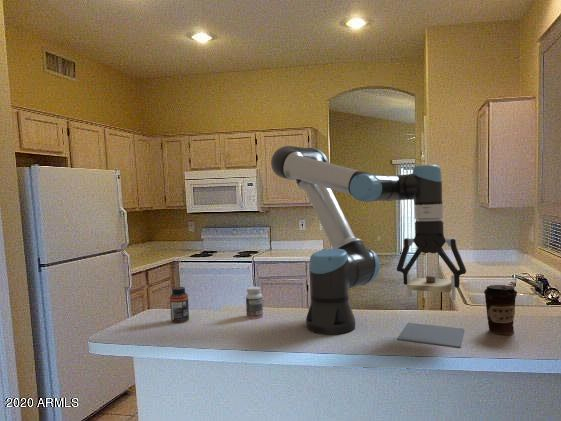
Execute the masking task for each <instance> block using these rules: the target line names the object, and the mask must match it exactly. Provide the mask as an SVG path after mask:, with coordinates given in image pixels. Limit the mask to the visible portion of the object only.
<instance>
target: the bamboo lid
mask: <svg viewBox="0 0 561 421" xmlns="http://www.w3.org/2000/svg"><path fill="white" fill-rule="evenodd" d="M406 288H407V289H406V290H407V291H408V290H412V291H422V292H435V293H436V292H440V293H452V286H451V278H450V279H448V278H436V276H435V275H425V277H412V280H411V281H410V282H409V283H408V284H407V285H406Z"/></svg>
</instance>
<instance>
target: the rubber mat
mask: <svg viewBox="0 0 561 421" xmlns="http://www.w3.org/2000/svg"><path fill="white" fill-rule="evenodd" d="M464 329H465V328H464V327H463V328H462V327H456V326H455V327H453V326H445V325H436V324H435V325H434V324H424V323H416V322H407V323H406V325H405V326H404V327H403V329H402V330H401V332H400V333H399V335H398V336H397V338H396V340H397V341H405V342H414V343H421V344H428V345H429V344H430V345H436V346H437V345H438V346H442V347H444V346H445V347H451V348H452V347H453V348H458V349H460V348H461V347H462V342H463V340H464V339H463V337H464V334H465V330H464Z"/></svg>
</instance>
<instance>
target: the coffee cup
mask: <svg viewBox="0 0 561 421" xmlns="http://www.w3.org/2000/svg"><path fill="white" fill-rule="evenodd" d="M483 294H484V298H485V308H486V315H487V316H486V317H487V318H486V319H487V325H488V331H489V332H490V333H493V334H496V335H505V336H506V335H508V336H509V335H513V334H515V329H514V318H515V315H516V299H517V298H516V297H517V296H518V291H517V290H515V287H514V286H512V285H508V284H506V285H505V284H493V285H492V284H490V285H488V286H486V288H485V289H484V290H483Z"/></svg>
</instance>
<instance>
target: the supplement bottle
mask: <svg viewBox="0 0 561 421" xmlns="http://www.w3.org/2000/svg"><path fill="white" fill-rule="evenodd" d="M169 301H170V302H169V303H170V322H172V323H173V322H174V324H181V323H180V322H183V323H186V322H188V321H189V320H190V314H189V313H190V311H189V310H190V309H189V295H188V293H187V292H186V288H185V286H176V287H173V288H172V294H171V295H170V296H169ZM187 320H188V321H187ZM185 321H186V322H185Z"/></svg>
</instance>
